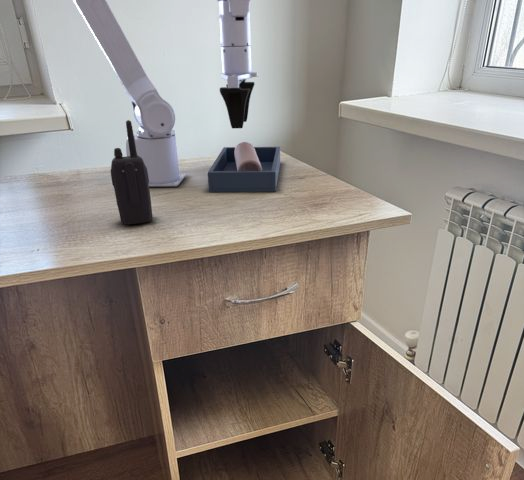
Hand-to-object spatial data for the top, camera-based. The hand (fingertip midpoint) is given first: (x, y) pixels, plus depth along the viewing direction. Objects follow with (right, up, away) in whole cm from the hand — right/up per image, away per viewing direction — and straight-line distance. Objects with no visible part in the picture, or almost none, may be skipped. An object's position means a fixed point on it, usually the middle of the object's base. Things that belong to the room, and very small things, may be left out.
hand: (239, 124), depth 100 cm
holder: (+2, -10, +2) cm, 10 cm away
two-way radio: (-15, -25, -21) cm, 36 cm away
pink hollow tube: (+2, -9, +2) cm, 10 cm away
